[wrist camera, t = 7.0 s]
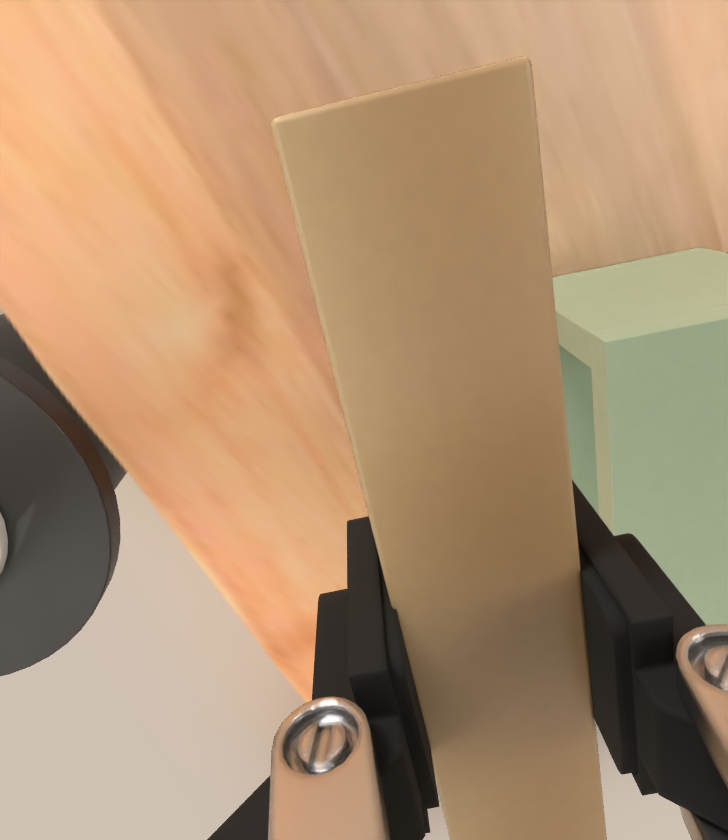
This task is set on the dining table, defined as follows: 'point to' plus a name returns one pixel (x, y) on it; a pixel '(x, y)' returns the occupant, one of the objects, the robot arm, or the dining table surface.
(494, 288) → the stick
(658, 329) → the shelf
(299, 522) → the dining table surface
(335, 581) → the dining table surface
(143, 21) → the dining table surface
